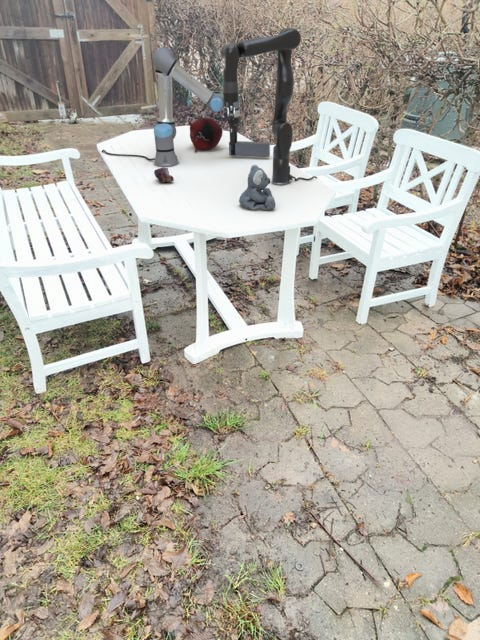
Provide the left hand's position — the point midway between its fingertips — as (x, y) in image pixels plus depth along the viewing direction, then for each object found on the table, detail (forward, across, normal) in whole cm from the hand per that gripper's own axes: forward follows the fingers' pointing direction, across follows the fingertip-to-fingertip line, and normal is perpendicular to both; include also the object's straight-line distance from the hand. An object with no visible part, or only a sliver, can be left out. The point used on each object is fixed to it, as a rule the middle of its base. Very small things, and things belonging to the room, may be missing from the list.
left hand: (233, 153), depth 305 cm
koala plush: (+2, -88, -31) cm, 94 cm away
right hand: (-31, -64, -13) cm, 72 cm away
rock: (+2, -60, +29) cm, 66 cm away
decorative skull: (+2, +21, +25) cm, 33 cm away
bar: (+1, 0, -11) cm, 11 cm away
